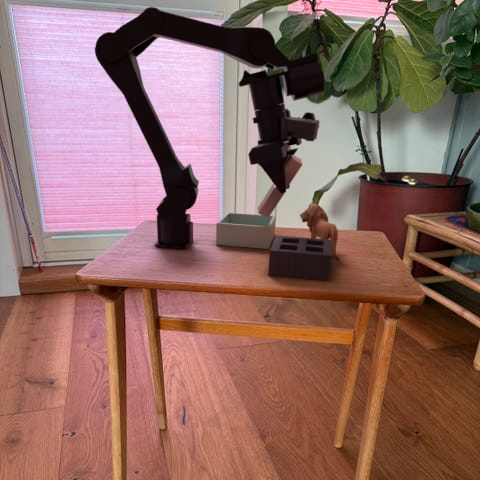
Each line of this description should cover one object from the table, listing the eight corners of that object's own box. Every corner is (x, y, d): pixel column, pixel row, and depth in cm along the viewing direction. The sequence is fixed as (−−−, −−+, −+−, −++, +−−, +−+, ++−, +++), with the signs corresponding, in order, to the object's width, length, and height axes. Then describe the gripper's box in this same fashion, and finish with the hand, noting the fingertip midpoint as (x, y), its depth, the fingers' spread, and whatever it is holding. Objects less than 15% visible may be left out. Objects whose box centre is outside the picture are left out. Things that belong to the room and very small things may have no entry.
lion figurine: (294, 244, 99) (298, 202, 95) (316, 242, 100) (320, 201, 96) (328, 264, 86) (333, 217, 82) (352, 263, 88) (359, 216, 84)
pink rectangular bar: (258, 213, 93) (293, 158, 86) (257, 207, 95) (291, 153, 88) (268, 218, 94) (303, 164, 87) (267, 212, 96) (302, 159, 89)
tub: (216, 244, 96) (216, 223, 94) (226, 232, 106) (227, 212, 104) (268, 249, 94) (270, 227, 92) (274, 235, 104) (275, 215, 102)
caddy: (268, 275, 79) (269, 250, 78) (274, 258, 89) (276, 235, 87) (328, 281, 78) (332, 255, 76) (328, 262, 87) (331, 239, 85)
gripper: (302, 100, 74) (317, 195, 80) (319, 93, 89) (331, 173, 96) (239, 116, 78) (258, 205, 85) (266, 107, 94) (280, 183, 100)
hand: (285, 190), depth 91 cm, fingers closed on pink rectangular bar, 3 cm apart
